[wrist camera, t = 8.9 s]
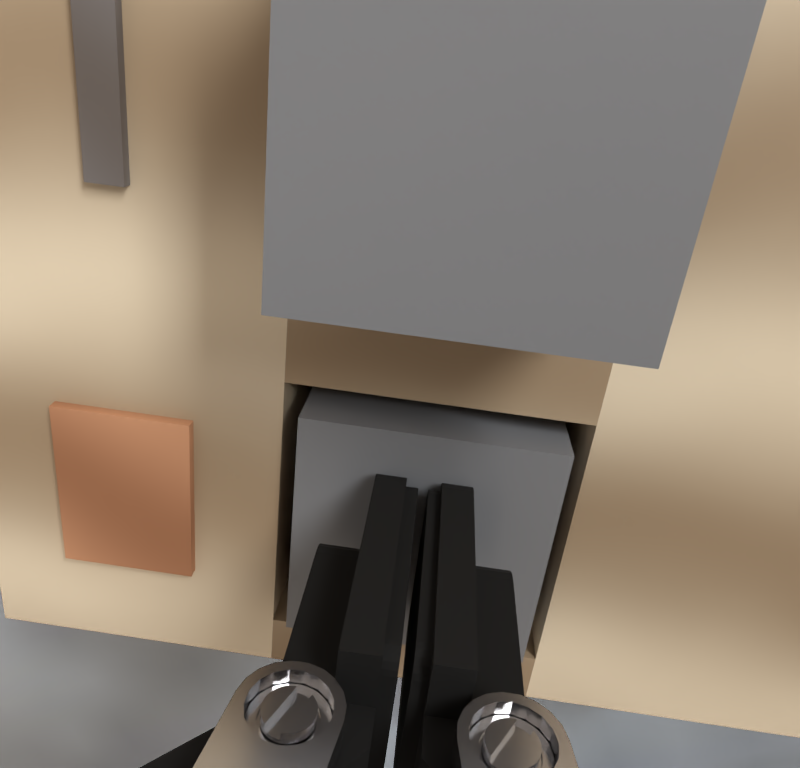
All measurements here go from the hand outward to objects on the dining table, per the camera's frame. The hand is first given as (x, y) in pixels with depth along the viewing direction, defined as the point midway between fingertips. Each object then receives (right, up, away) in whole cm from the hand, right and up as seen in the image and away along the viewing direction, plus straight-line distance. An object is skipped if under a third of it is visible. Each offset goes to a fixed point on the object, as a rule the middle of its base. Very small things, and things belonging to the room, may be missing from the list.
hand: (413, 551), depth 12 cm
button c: (0, +2, +4) cm, 4 cm away
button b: (+1, +7, -2) cm, 7 cm away
